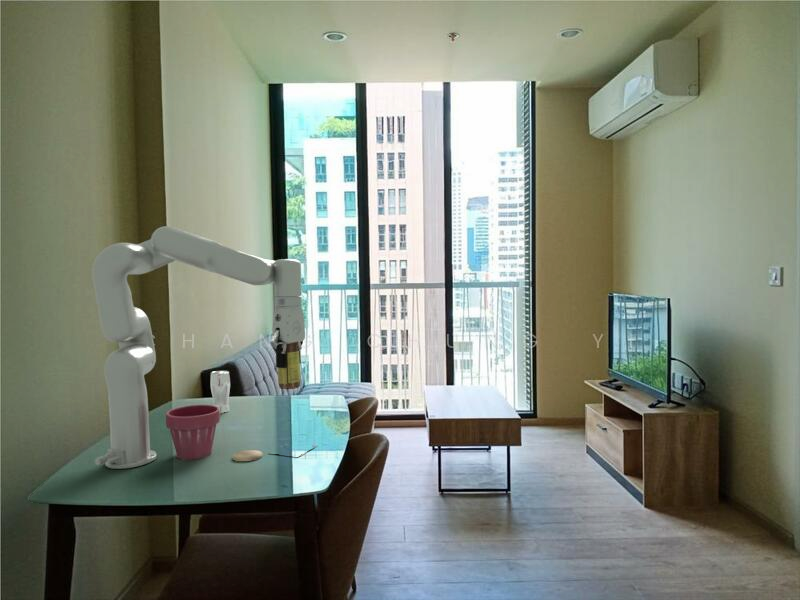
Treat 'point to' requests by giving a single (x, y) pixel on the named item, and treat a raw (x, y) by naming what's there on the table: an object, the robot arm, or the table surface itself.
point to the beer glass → (220, 389)
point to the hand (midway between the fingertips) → (288, 365)
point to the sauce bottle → (290, 368)
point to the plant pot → (193, 430)
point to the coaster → (247, 455)
